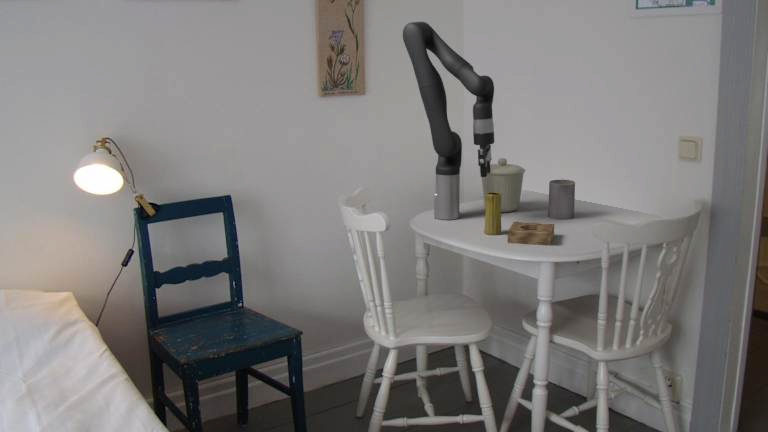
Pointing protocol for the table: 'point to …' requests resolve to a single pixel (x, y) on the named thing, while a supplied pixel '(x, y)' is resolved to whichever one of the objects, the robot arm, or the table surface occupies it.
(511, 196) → the canister
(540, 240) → the socket block
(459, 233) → the table surface
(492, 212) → the vase
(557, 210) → the pillar candle
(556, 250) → the table surface
